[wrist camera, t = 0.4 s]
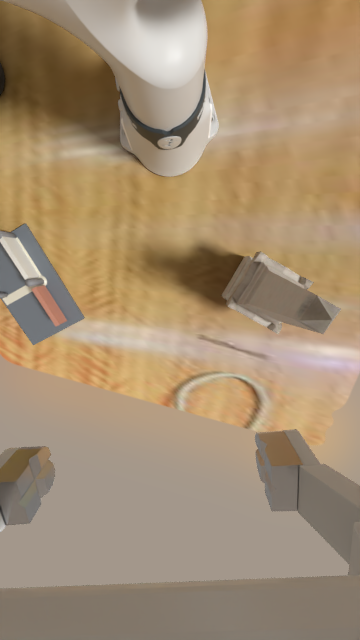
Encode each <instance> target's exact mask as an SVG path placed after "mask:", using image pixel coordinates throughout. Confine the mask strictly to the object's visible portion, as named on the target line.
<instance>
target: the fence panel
mask: <svg viewBox="0 0 360 640" xmlns="http://www.w3.org/2000/svg"><path fill="white" fill-rule="evenodd" d="M31 290H32V291H33V293H34V294H35V296H36V297H37V299H38V300H39V302H40V303H41V305H42V306H43V308H44V309H45V311H46V312H47V314H48V316H49V317H50V319H51V320H52V322H53V323H54V325H55V326H58V325H60V324H62V323H64V322H66V321H67V319H66V318H65V316H64V314H63V313H62V311H61V310H60V308H59V307H58V305H57V304H56V302H55V300H54V299H53V297H52V296H51V294H50V293H49V291H48V289H47V288H46V286H45V285H44V286H39V287H35V288H33V289H31Z"/></svg>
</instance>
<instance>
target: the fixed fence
mask: <svg viewBox="0 0 360 640" xmlns="http://www.w3.org/2000/svg"><path fill="white" fill-rule="evenodd" d="M0 242H1V244H2V245H3V247H4V248H5V250H6V252H7V253H8V255H9V256H10V258H11V259H12V261H13V262H14V264H15V265H16V267H17V268H18V270H19V271H20V273H21V274H22V276H23V277H24V279H25V280H26V281H25V285H26V286H28V287H30V286H36V285H42V284H44V280H43V279H42V278H38V277H40V275H39V274H38V272H37V270H36V269H35V267H34V266H33V264H32V263H31V261H30V259H29V258H28V256H27V255H26V253H25V252H24V250H23V248H22V247H21V245H20V244H19V242H18V241H17V239H16V235H15V234H14V233H11V232H5V231H0ZM36 278H38V279H36ZM27 279H30V280H27ZM7 296H8V293H7V292H1V293H0V298H5V297H7Z"/></svg>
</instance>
